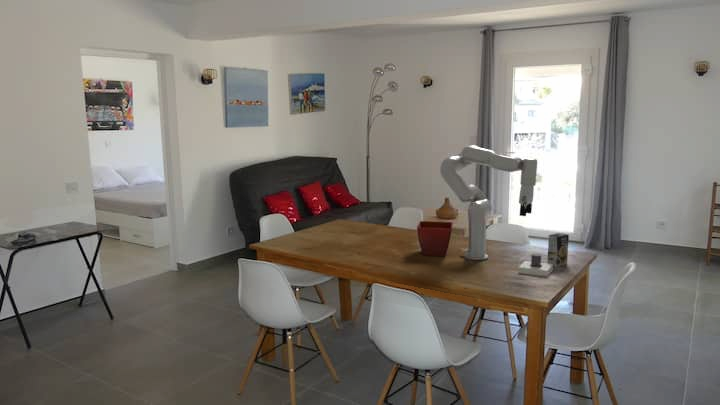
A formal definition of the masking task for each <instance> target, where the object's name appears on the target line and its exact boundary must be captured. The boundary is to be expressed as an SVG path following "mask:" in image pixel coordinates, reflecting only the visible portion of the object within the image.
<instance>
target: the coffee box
mask: <svg viewBox="0 0 720 405" xmlns="http://www.w3.org/2000/svg"><path fill="white" fill-rule="evenodd" d="M569 237H570V234H565V233H557V232H556V233H553V234H549V235H548V245H547V262H546V263H547V264H553V267H556V268H559V267H562V266H566V265H568V256H569V254H568V253H569V239H570V238H569Z"/></svg>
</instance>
